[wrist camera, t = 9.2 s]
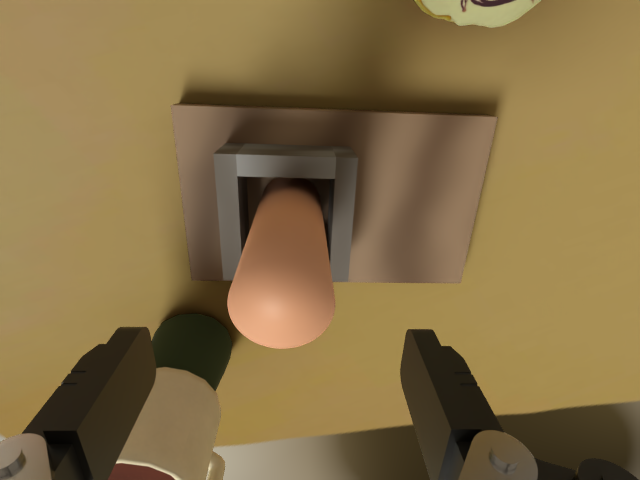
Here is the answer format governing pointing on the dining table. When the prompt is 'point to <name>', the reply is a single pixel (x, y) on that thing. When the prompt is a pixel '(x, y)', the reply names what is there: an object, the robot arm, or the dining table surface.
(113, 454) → the robot arm
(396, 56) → the dining table surface
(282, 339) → the peg
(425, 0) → the decorated donut
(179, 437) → the character mug
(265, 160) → the holder
